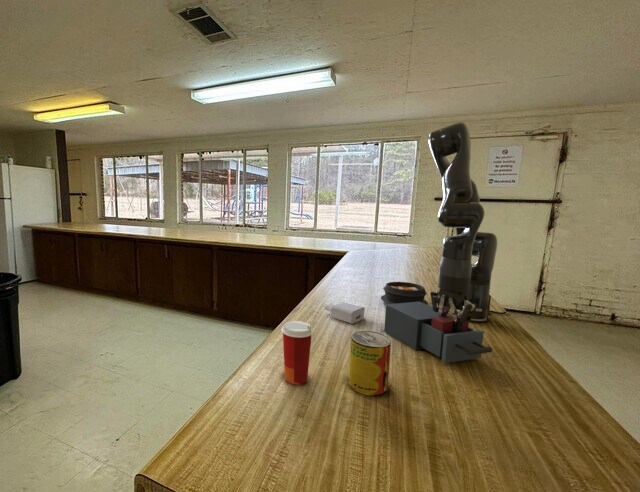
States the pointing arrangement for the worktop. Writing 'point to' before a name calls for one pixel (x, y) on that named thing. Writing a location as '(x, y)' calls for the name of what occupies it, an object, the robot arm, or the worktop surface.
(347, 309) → the charger
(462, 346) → the drawer
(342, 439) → the worktop surface
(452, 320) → the red rectangular box
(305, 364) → the paper cup
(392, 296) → the casserole
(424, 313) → the cabinet
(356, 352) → the food can
